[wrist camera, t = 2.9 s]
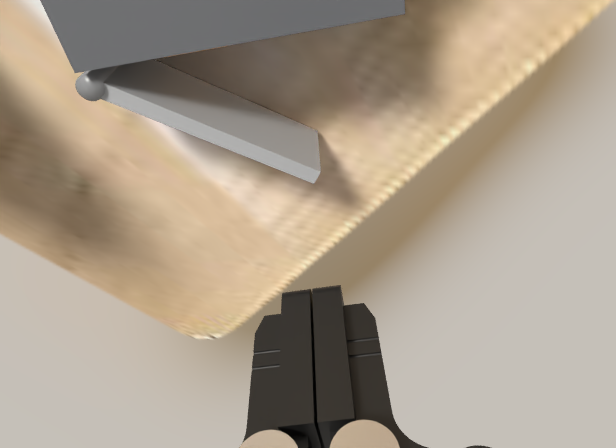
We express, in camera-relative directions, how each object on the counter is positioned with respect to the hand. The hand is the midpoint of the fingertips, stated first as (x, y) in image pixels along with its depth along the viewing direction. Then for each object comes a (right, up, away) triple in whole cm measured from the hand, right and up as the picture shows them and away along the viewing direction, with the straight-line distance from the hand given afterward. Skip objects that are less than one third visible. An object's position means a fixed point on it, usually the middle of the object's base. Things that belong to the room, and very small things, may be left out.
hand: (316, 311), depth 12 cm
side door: (-5, +10, +14) cm, 18 cm away
